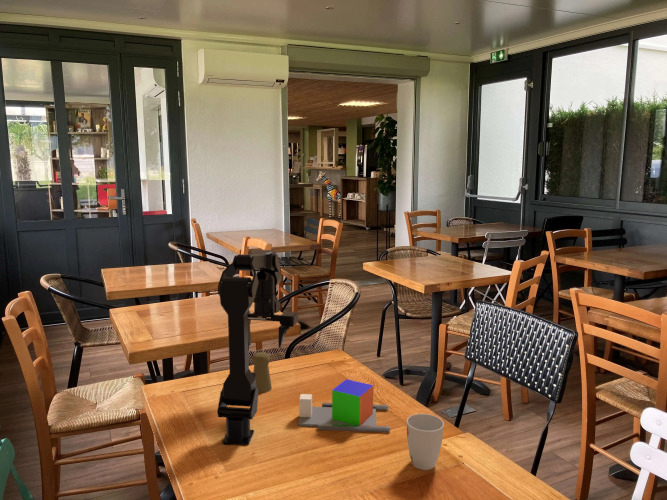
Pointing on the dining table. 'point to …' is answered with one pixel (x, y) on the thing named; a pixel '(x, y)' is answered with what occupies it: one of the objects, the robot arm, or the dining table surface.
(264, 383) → the cork
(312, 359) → the dining table surface
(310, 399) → the grey panel with knob
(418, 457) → the cup
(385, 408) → the lane rails
